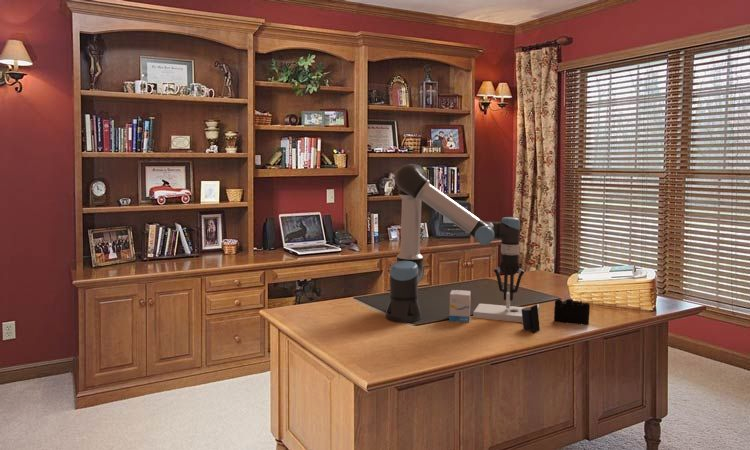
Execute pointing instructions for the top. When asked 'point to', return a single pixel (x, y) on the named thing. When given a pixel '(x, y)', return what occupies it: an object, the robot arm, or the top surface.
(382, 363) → the top surface
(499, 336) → the top surface
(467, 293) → the ink box
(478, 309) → the board
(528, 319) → the speaker
